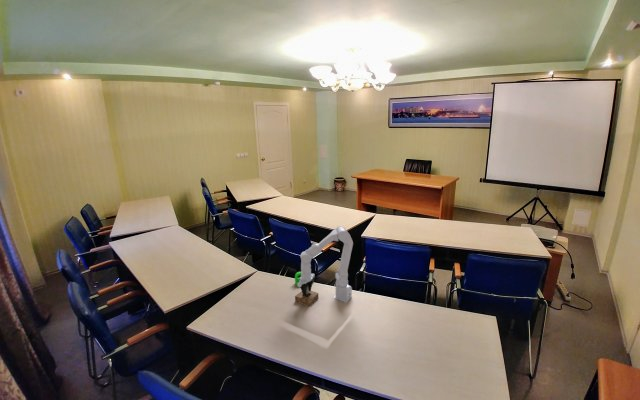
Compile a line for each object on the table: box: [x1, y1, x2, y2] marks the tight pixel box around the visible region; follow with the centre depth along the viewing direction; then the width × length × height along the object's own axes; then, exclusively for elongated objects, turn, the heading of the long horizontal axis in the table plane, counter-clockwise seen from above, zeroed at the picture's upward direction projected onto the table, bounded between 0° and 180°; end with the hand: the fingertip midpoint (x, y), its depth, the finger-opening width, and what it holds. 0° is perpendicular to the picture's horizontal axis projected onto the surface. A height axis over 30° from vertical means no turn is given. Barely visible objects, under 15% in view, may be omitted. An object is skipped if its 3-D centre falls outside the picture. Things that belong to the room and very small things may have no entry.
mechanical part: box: [294, 271, 315, 288], centre depth 190 cm, size 12×6×8 cm, turn 112°
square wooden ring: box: [294, 290, 319, 307], centre depth 171 cm, size 10×10×4 cm
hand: (306, 292), depth 170 cm, fingers open, 4 cm apart
